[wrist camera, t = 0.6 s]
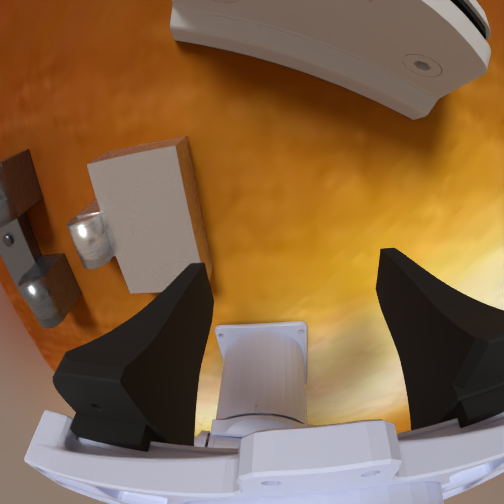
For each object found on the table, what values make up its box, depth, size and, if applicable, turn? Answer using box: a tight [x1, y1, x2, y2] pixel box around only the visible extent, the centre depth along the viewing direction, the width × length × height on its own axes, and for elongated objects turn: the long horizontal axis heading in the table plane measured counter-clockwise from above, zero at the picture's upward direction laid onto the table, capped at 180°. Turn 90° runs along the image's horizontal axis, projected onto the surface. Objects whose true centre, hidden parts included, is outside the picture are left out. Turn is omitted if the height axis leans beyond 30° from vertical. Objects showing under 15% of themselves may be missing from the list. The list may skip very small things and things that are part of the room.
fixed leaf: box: [0, 149, 82, 329], centre depth 21 cm, size 14×8×5 cm, turn 7°
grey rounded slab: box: [170, 0, 491, 120], centre depth 11 cm, size 17×5×10 cm, turn 73°
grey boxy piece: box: [67, 136, 213, 293], centre depth 20 cm, size 10×9×5 cm
